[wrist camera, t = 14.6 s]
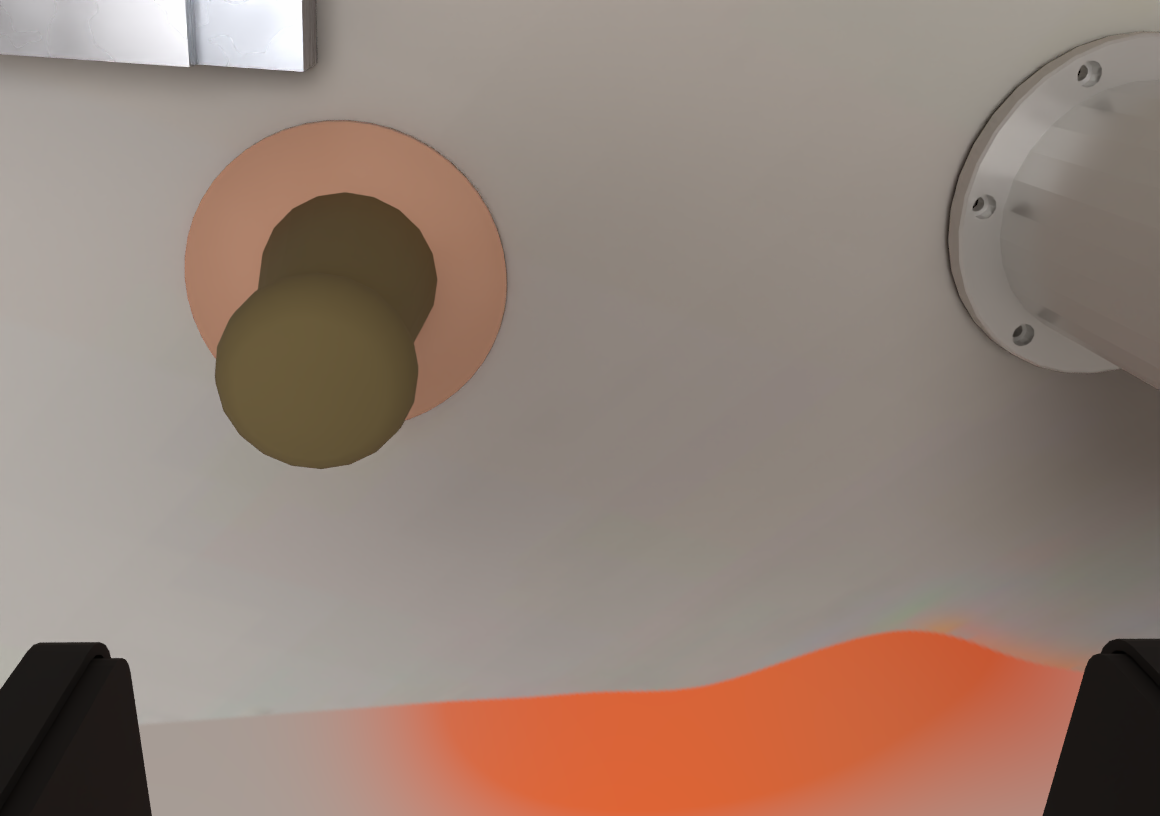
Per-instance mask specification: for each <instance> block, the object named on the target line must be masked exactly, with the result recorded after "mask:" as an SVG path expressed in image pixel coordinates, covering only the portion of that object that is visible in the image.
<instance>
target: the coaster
mask: <svg viewBox="0 0 1160 816" xmlns="http://www.w3.org/2000/svg"><path fill="white" fill-rule="evenodd" d="M343 192H347V193H353V194H359V195H365V196H371V197H375V198H377V199H379V200H381V201H383V202H385V203H387V204H389V205H391V206H393V207H395V208H397V209H399V210H400V211H401V212H402V213H403V214H404V215H405V216H406V217H407V218H408V219H409V220H410V221H411V222H412V223H414V224H415V225H416V226H417V227H418V228H419V229H420V231H421V233H422V235H423V237H424V238H425V240H426V242H427V244H428V246H429V248H430V249H431V251H432V253H433V258H434V263H435V269H436V274H437V286H436V293H435V300H434V306H433V307H432V309H431V311H430V313H429V315H428V317H427V319H426V321H425V323H424V325H423V327H422V329H421V331H420V332H419V334H418V336H417V338H416V340H415V341H414V346H415V352H416V357H417V362H418V379H417V386H416V393H415V400H414V404H413V405H412V407H411V409H410V411H409V413H408V415H407V417H406V419H405V420H408V419H411V418H413V417H415V416H418V415H420V414H423V413H425V412H427V411H429V410H430V409H432V408H434V407H436V406H437V405H439V404H441V403H443V402H444V401H445V400H447V399H448V398H449V397H451V396H452V395H453V394H454V393H456V392H457V391H458V390H459V389H460V388H461V387H462V386H463V385H464V384H465V383H466V382H467V381H468V380H469V379H470V378H471V377H472V376H473V375H474V373H475V372H476V371H477V370H478V368H479V367H480V366H481V364H482V363H483V362H484V360H485V358H486V356H487V355H488V353H489V351H490V349H491V348H492V346H493V343H494V341H495V339H496V336H497V334H498V331H499V329H500V325H501V321H502V317H503V314H504V309H505V301H506V292H507V280H506V266H505V259H504V253H503V248H502V244H501V241H500V237H499V234H498V230H497V227H496V225H495V223H494V221H493V218H492V216H491V214H490V212H489V209H488V208H487V206H486V205H485V203H484V201H483V200H482V198H481V196H480V195H479V193H478V191H477V190H476V189H475V188H474V186H473V185H472V184H471V183H470V182H469V180H468V179H467V178H466V177H465V175H464V174H463V173H462V172H461V171H460V170H458V169H457V168H456V167H455V166H454V165H453V164H452V163H451V162H450V161H449V160H448V159H446V158H445V157H444V156H442V155H441V154H440V153H438V152H437V151H436V150H434V149H433V148H432V147H430V146H428V145H426V144H424V143H423V142H421V141H419V140H417V139H416V138H414V137H412V136H409V135H407V134H404V133H402V132H399V131H397V130H394V129H392V128H388V127H384V126H380V125H377V124H373V123H367V122H359V121H351V120H326V121H319V122H312V123H305V124H301V125H298V126H294V127H291V128H287V129H284V130H282V131H279V132H277V133H275V134H273V135H270V136H268V137H266V138H264V139H262V140H261V141H259V142H257V143H256V144H254V145H253V146H251V147H249V148H248V149H246V150H245V151H244V152H243V153H242V154H240V155H239V156H238V157H237V158H236V159H234V160H233V161H232V162H231V163H230V164H229V165H227V166H226V168H225V169H224V170H223V171H222V172H221V173H220V174H219V176H218V177H217V178H216V179H215V180H214V181H213V183H212V184H211V186H210V187H209V189H208V190H207V192H206V193H205V195H204V196H203V198H202V200H201V202H200V204H199V206H198V209H197V211H196V213H195V215H194V217H193V221H192V224H191V228H190V231H189V234H188V239H187V246H186V253H185V282H186V289H187V296H188V301H189V304H190V307H191V311H192V314H193V318H194V320H195V323H196V325H197V327H198V329H199V332H200V334H201V336H202V338H203V340H204V341H205V343H206V345H207V346H208V348H209V350H210V351H211V353H212V355H213V356H214V357H215V358H216V354H217V345H218V343H219V341H220V339H221V336H222V334H223V332H224V330H225V328H226V325H227V323H228V321H229V319H230V318H231V316H232V315H233V313H234V312H235V311H236V310H237V309H238V308H239V307H240V306H241V305H242V304H243V303H244V302H245V301H246V300H247V299H248V298H249V297H250V296H251V295H252V294H253V293H254V292H255V291H257V290H258V284H259V276H260V269H261V261H262V254H263V251H264V248H265V246H266V244H267V242H268V240H269V237H270V235H271V233H272V231H273V229H274V227H275V226H276V225H277V224H278V223H279V222H280V221H281V220H282V219H283V218H284V217H285V216H286V215H287V214H288V213H289V212H290V211H291V210H292V209H293V208H295V207H297V206H299V205H301V204H303V203H305V202H307V201H309V200H311V199H313V198H315V197H317V196H322V195H329V194H336V193H343Z"/></svg>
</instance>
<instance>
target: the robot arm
mask: <svg viewBox="0 0 1160 816" xmlns="http://www.w3.org/2000/svg"><path fill="white" fill-rule="evenodd" d="M1080 68H1081V72H1080V74H1079V76H1078V72H1079V70H1080ZM977 199H978V204H977V206H976V207H974V208H973V205H974V203H975V201H976V200H977ZM948 244H949V253H950V262H951V271H952V274H953V277H954V280H955V283H956V286H957V289H958V293H959V296H960V298H961V300H962V302H963V303H964V305H965V307H966V308H967V310H968V312H969V314H970V315H971V317H972V319H973V320H974V322H975V323H976V324H977V325H978V326H979V327H980V328H981V329H982V330H983V331H984V332H985V333H986V334H987V335H988V336H989V337H990V338H991V339H992V340H993V341H994V342H996V343H997V344H998V345H1000V346H1001V347H1003V348H1004V349H1006V350H1007V351H1009V352H1010V353H1011V354H1013V355H1015V356H1017V357H1019V358H1021V359H1023V360H1025V361H1027V362H1029V363H1031V364H1033V365H1035V366H1037V367H1041V368H1045V369H1050V370H1054V371H1058V372H1062V373H1084V374H1093V373H1100V372H1106V371H1112V370H1119V369H1123V370H1125V371H1127V372H1128V373H1130V374H1132V375H1134V376H1135V377H1137V378H1139V379H1141V380H1142V381H1144V382H1146V383H1148V384H1149V385H1151V386H1153V387H1155V388H1156V389H1158V390H1160V32H1144V31H1142V32H1134V33H1127V34H1119V35H1112V36H1108V37H1105V38H1102V39H1099V40H1096V41H1093V42H1090V43H1087V44H1084V45H1081V46H1079V47H1076V48H1075V49H1073V50H1071V51H1069V52H1067V53H1066V54H1064V55H1062V56H1060V57H1058V58H1057V59H1055V60H1053V61H1051V62H1049V63H1048V64H1046V65H1045V66H1044V67H1042V68H1041V69H1040V70H1039V71H1037V72H1036V73H1035V74H1034V75H1032V76H1031V77H1030V78H1029V79H1027V80H1026V81H1025V82H1024V83H1022V84H1021V85H1020V86H1019V87H1017V89H1016V90H1015V91H1014V92H1013V93H1012V94H1011V95H1010V96H1009V97H1008V99H1007V100H1006V101H1005V102H1004V103H1003V104H1002V105H1001V106H1000V107H999V108H998V110H997V111H996V112H995V113H994V114H993V115H992V117H991V119H990V120H989V122H988V123H987V125H986V126H985V128H984V129H983V131H982V132H981V134H980V135H979V137H978V138H977V140H976V141H975V143H974V145H973V147H972V149H971V151H970V153H969V156H968V158H967V160H966V162H965V165H964V167H963V169H962V171H961V174H960V176H959V179H958V183H957V187H956V191H955V195H954V198H953V202H952V206H951V212H950V224H949V237H948ZM0 816H152V814H151V807H150V801H149V794H148V788H147V781H146V774H145V767H144V760H143V753H142V747H141V740H140V733H139V726H138V720H137V713H136V706H135V699H134V693H133V686H132V679H131V672H130V668H129V665H128V663H127V661H126V660H125V659H123V658H111V657H110V653H109V650H108V649H107V647H106V645H105V644H103V643H100V642H67V643H38V644H35V645H33V646H32V647H31V648H30V649H29V650H28V651H27V653H26V654H25V655H24V657H23V658H22V660H21V661H20V663H19V664H18V665H17V667H16V668H15V670H14V671H13V672H12V674H11V675H10V677H9V678H8V679H7V681H6V682H5V684H4V685H3V687H2V688H1V689H0ZM1043 816H1160V639H1115V640H1112V641H1109V642H1108V643H1107V644H1106V645H1105V646H1104V647H1103V649H1102V652H1101V654H1096V655H1093V656H1092V657H1091V658H1090V659H1089V661H1088V663H1087V666H1086V668H1085V672H1084V675H1083V679H1082V682H1081V686H1080V689H1079V692H1078V696H1077V699H1076V703H1075V706H1074V710H1073V713H1072V717H1071V720H1070V724H1069V727H1068V730H1067V734H1066V737H1065V741H1064V744H1063V748H1062V751H1061V754H1060V758H1059V762H1058V765H1057V768H1056V772H1055V776H1054V779H1053V782H1052V785H1051V789H1050V793H1049V796H1048V799H1047V803H1046V806H1045V810H1044V813H1043Z"/></svg>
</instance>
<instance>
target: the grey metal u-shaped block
mask: <svg viewBox="0 0 1160 816" xmlns="http://www.w3.org/2000/svg"><path fill="white" fill-rule="evenodd" d="M0 54H7V55H21V56H36V57H50V58H65V59H80V60H94V61H109V62H124V63H138V64H153V65H167V66H182V67H191V66H194V65H197V64H199V65H214V66H228V67H243V68H257V69H272V70H286V71H301V72H304V71H305V70H307V69H309V68H310V67H312V66H313V65H315V64H317V22H316V0H0Z"/></svg>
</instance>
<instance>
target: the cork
mask: <svg viewBox="0 0 1160 816" xmlns="http://www.w3.org/2000/svg"><path fill="white" fill-rule="evenodd" d="M436 286H437V274H436V269H435V263H434V258H433V253H432V251H431V249H430V248H429V246H428V244H427V242H426V240H425V238H424V237H423V235H422V233H421V231H420V229H419V228H418V227H417V226H416V225H415V224H414V223H412V222H411V221H410V220H409V219H408V218H407V217H406V216H405V215H404V214H403V213H402V212H401V211H400V210H399V209H397V208H395V207H393V206H391V205H389V204H387V203H385V202H383V201H381V200H379V199H377V198H375V197H371V196H365V195H359V194H353V193H347V192H343V193H336V194H329V195H322V196H317V197H315V198H313V199H311V200H309V201H307V202H305V203H303V204H301V205H299V206H297V207H295V208H293V209H292V210H291V211H290V212H289V213H288V214H287V215H286V216H285V217H284V218H283V219H282V220H281V221H280V222H279V223H278V224H277V225H276V226H275V227H274V229H273V231H272V233H271V235H270V237H269V240H268V242H267V244H266V246H265V248H264V251H263V254H262V261H261V269H260V276H259V284H258V290H257V291H255V292H254V293H253V294H252V295H251V296H250V297H249V298H248V299H247V300H246V301H245V302H244V303H243V304H242V305H241V306H240V307H239V308H238V309H237V310H236V311H235V312H234V313H233V315H232V316H231V318H230V319H229V321H228V323H227V325H226V328H225V330H224V332H223V334H222V336H221V339H220V341H219V343H218V345H217V354H216V369H215V380H216V386H217V389H218V393H219V396H220V400H221V403H222V407H223V410H224V412H225V414H226V415H227V417H228V418H229V420H230V421H231V422H232V424H233V425H234V427H235V428H236V430H237V431H238V433H239V434H240V435H241V436H242V437H243V438H244V439H246V440H247V441H248V442H249V443H251V444H252V445H253V446H254V447H256V448H257V449H258V450H259V451H261V452H262V453H263V454H265V455H267V456H270V457H272V458H275V459H277V460H279V461H282V462H284V463H287V464H289V465H292V466H300V467H309V468H317V469H324V468H331V467H337V466H343V465H349V464H352V463H354V462H356V461H358V460H360V459H362V458H364V457H366V456H369V455H371V454H373V453H375V452H376V451H377V450H379V449H380V448H381V447H382V446H383V445H384V444H385V443H386V442H387V441H388V440H389V439H390V438H391V437H392V436H393V435H394V434H395V433H396V432H397V431H398V430H399V429H400V428H401V426H402V425H403V423H404V421H405V419H406V417H407V415H408V413H409V411H410V409H411V407H412V405H413V404H414V400H415V393H416V386H417V379H418V362H417V357H416V352H415V346H414V341H415V340H416V338H417V336H418V334H419V332H420V331H421V329H422V327H423V325H424V323H425V321H426V319H427V317H428V315H429V313H430V311H431V309H432V307H433V306H434V300H435V293H436Z"/></svg>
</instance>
